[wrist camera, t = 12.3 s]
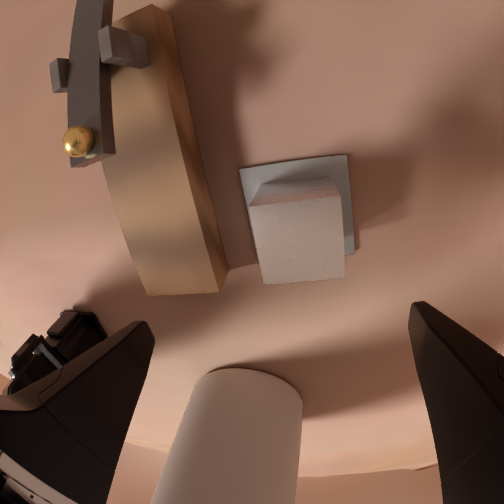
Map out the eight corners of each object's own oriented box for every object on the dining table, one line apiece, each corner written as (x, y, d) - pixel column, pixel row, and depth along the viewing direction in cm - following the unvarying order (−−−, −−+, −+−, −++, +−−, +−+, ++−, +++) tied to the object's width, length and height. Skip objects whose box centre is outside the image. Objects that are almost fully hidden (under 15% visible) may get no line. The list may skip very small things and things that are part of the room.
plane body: (229, 270, 22) (202, 330, 16) (162, 276, 23) (122, 328, 17) (171, 15, 14) (116, -16, 8) (103, 47, 15) (40, 37, 9)
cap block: (336, 239, 19) (345, 277, 15) (272, 246, 20) (263, 285, 16) (329, 175, 17) (340, 196, 13) (261, 184, 18) (248, 207, 14)
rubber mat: (353, 251, 20) (354, 254, 19) (259, 261, 21) (258, 264, 21) (345, 154, 17) (346, 155, 17) (240, 168, 18) (239, 169, 18)
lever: (116, 154, 12) (85, 152, 10) (83, 167, 13) (52, 168, 11) (115, -13, 10) (94, -28, 7) (86, 4, 10) (64, -8, 8)
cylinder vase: (203, 349, 27) (111, 587, 5) (321, 382, 27) (300, 618, 5) (190, 406, 33) (130, 570, 11) (281, 431, 32) (252, 597, 10)
